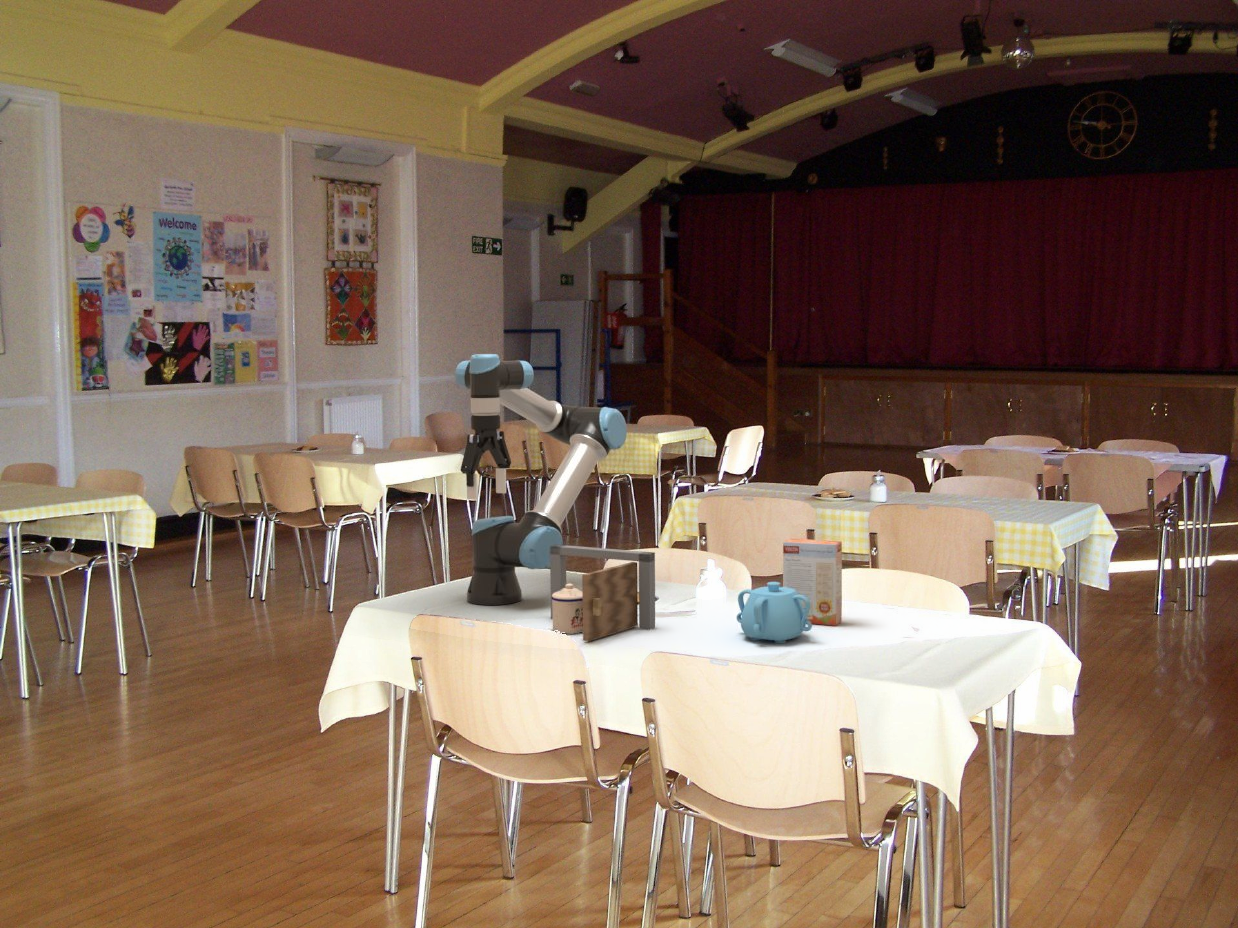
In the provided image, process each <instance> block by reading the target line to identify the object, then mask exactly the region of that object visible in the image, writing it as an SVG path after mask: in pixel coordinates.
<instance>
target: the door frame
mask: <svg viewBox="0 0 1238 928" xmlns="http://www.w3.org/2000/svg"><path fill="white" fill-rule="evenodd" d="M567 556H572V557H581V558H582V557H583V558H593V559H594V558H595V559H603V560H604V559H607V560H618V561H627V562H628V561H630V562H638V622H639V623H638V626H639V627H638V628H639V629H641V630H648V629H649V631H651V630H653V629H655V628H656V552H654V551H643V550H642V551H641V550H640V551H639V550H629V549H615V548H603V547H592V546H590V547H589V546H578V545H566V544H562V545H553V546H550V567H549V569H550V570H549V571H550V574H549V575H550V576H549V577H550V579H549V580H550V619H551V620H553V612H552V598H551V597H552V594H553V593H555V592H558V591H560V590H561V589H563V588H566V587H565V585H566V584H567ZM650 629H651V630H650Z"/></svg>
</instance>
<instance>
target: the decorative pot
mask: <svg viewBox="0 0 1238 928" xmlns="http://www.w3.org/2000/svg"><path fill="white" fill-rule="evenodd" d="M766 585H767V586H761V587H757V588H754V589H749V588H748V589H747V588H746V589H744V590H742V591H740V592H739V594H738V596H737V602H738V607H739V611H740V612H738V613H737V615H736V621H737V622H738V623H740V628H741V630H742V631H743V633H744V634H745V636H746V637H749V638H750V640H751V641H761V640H768V641H774V643H775V644H786V643H787V642H786V641H787V640H791V639H794V638H797V637H799V636H801V634H802V633H803V632H809V631H811V630H812V628H813V624H812V623H811V622H810V621H809V620H806V619H807V617H808V614H809V611H810V601H809V599H808V598H807V597H805V596H803V595H798V593H797V591H796V590H795V589H792V588H788V587H783V586H781V582H778V581H769V582H767V583H766ZM746 594H748V598H747V599H746V602H744V596H745V595H746ZM800 599H801V600H803V601H804V602H805V605H806V607H805V611H804V607H803V604H802V602H801V600H800Z"/></svg>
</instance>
